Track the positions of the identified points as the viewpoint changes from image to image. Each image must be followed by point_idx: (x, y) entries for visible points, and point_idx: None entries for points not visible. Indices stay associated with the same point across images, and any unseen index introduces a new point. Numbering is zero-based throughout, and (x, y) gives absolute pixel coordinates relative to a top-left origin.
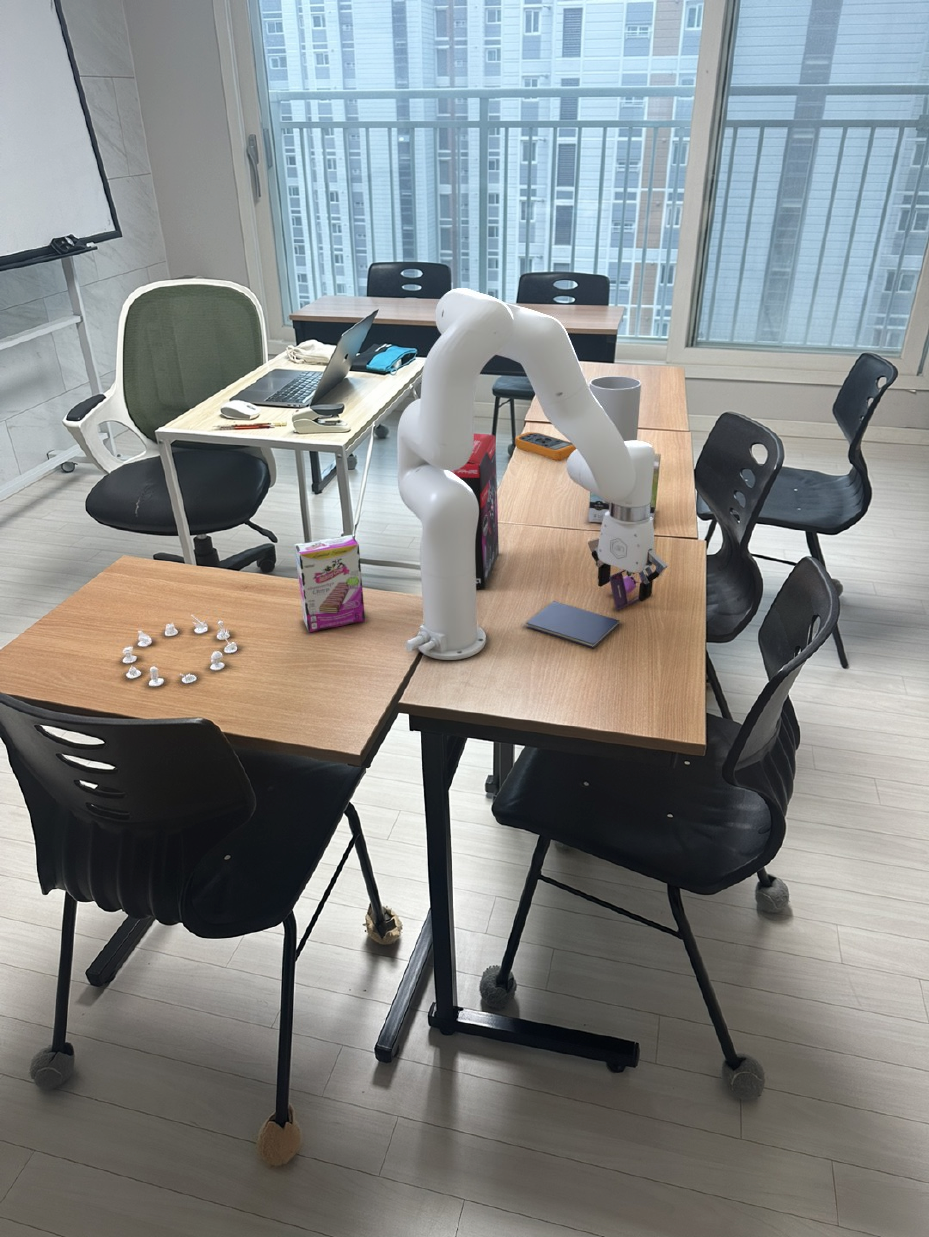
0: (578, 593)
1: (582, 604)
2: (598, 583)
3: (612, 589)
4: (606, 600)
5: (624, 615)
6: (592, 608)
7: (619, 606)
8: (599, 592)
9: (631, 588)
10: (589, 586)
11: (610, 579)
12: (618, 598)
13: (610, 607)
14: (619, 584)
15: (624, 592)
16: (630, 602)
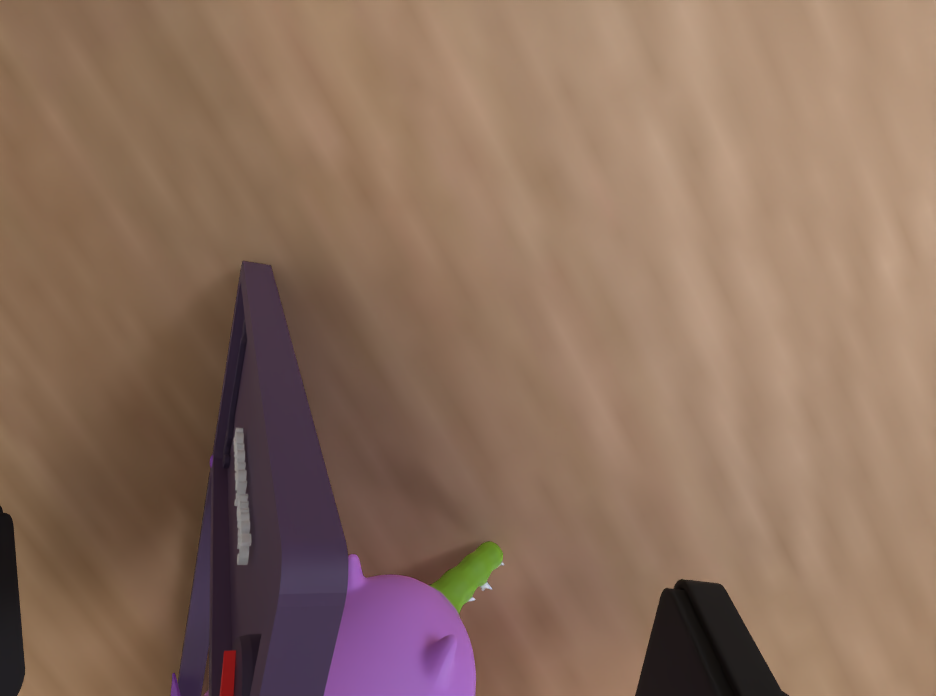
0: (906, 401)
1: (742, 157)
2: (726, 606)
3: (278, 379)
4: (508, 426)
5: (103, 196)
6: (567, 129)
7: (243, 325)
8: (673, 551)
9: (205, 693)
10: (841, 613)
11: (299, 510)
12: (249, 387)
13: (373, 292)
14: (246, 601)
15: (228, 550)
16: (206, 503)
